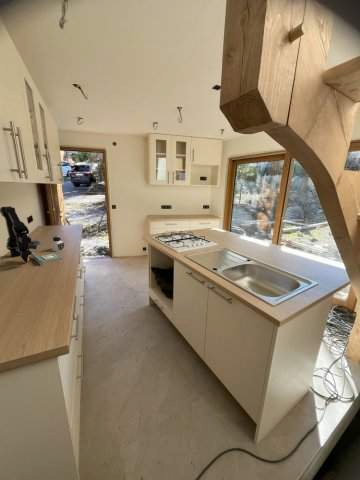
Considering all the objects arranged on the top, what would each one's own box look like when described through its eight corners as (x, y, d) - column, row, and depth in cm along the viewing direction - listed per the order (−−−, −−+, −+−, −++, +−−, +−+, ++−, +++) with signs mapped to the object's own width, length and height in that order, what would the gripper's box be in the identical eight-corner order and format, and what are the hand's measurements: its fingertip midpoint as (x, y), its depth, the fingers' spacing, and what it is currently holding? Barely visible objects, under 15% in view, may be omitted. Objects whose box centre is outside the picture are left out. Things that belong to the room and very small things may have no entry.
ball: (20, 262, 154) (19, 256, 153) (28, 260, 158) (27, 254, 156) (22, 264, 151) (21, 258, 150) (30, 262, 155) (29, 256, 153)
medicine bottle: (58, 251, 181) (57, 238, 178) (51, 250, 183) (50, 237, 180) (64, 248, 188) (63, 236, 185) (57, 248, 190) (56, 235, 186)
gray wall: (31, 256, 166) (30, 252, 165) (33, 256, 167) (32, 251, 166) (40, 265, 151) (39, 260, 150) (42, 264, 152) (42, 259, 151)
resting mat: (36, 257, 166) (36, 255, 166) (55, 253, 176) (55, 252, 176) (42, 262, 156) (42, 261, 155) (62, 258, 166) (62, 256, 166)
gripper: (38, 242, 150) (41, 262, 154) (31, 237, 162) (34, 255, 166) (19, 245, 142) (23, 266, 146) (13, 239, 154) (17, 258, 158)
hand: (25, 261), depth 154 cm, fingers closed on ball, 5 cm apart
